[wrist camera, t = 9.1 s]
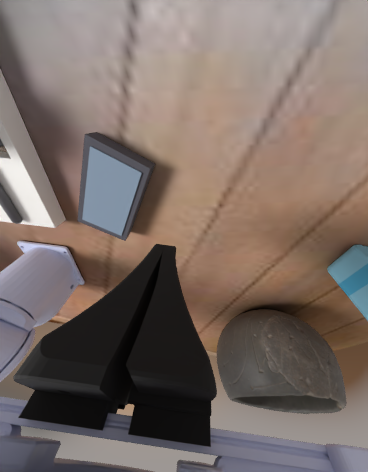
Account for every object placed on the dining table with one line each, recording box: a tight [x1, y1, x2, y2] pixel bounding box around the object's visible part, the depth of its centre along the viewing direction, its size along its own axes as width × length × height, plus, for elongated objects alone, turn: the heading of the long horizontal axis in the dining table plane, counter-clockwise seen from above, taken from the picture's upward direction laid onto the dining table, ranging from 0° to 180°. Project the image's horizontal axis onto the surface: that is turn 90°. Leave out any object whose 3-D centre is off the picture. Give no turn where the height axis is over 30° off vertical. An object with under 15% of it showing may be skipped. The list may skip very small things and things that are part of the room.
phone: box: [78, 132, 155, 241], centre depth 18 cm, size 10×6×3 cm, turn 154°
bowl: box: [217, 309, 346, 414], centre depth 28 cm, size 18×18×13 cm
